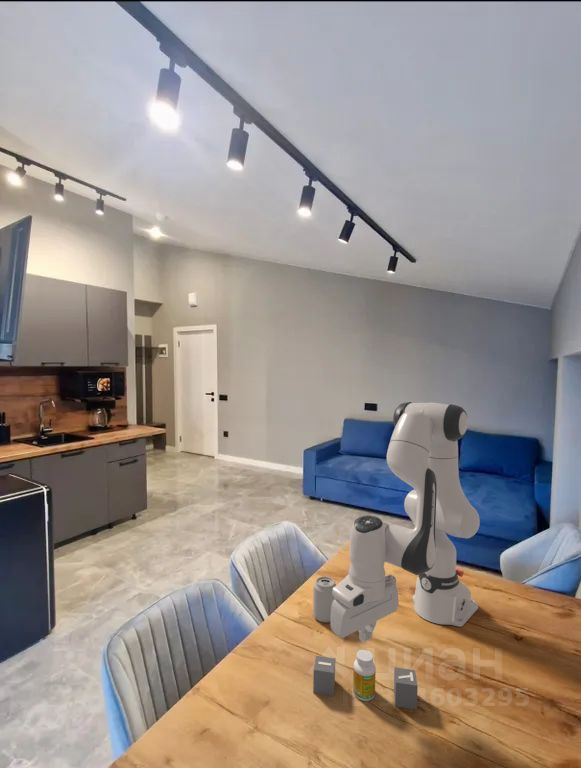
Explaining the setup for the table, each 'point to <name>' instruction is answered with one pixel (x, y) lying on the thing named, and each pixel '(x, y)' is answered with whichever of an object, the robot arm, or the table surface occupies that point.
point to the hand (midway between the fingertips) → (365, 638)
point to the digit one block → (324, 675)
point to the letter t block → (405, 688)
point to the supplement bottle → (364, 676)
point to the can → (323, 598)
